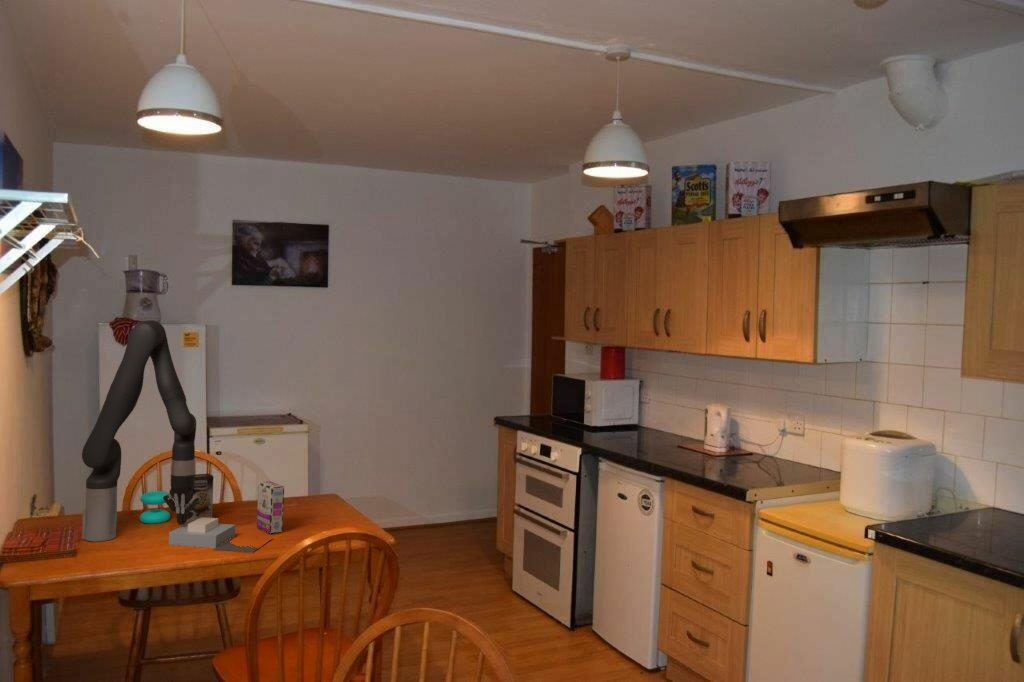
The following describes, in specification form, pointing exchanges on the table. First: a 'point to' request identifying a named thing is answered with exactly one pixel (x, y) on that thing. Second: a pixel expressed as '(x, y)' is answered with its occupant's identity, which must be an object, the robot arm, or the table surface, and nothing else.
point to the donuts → (154, 514)
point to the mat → (234, 547)
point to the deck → (202, 536)
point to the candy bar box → (270, 507)
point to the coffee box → (206, 493)
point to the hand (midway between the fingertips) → (181, 524)
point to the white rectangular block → (202, 525)
